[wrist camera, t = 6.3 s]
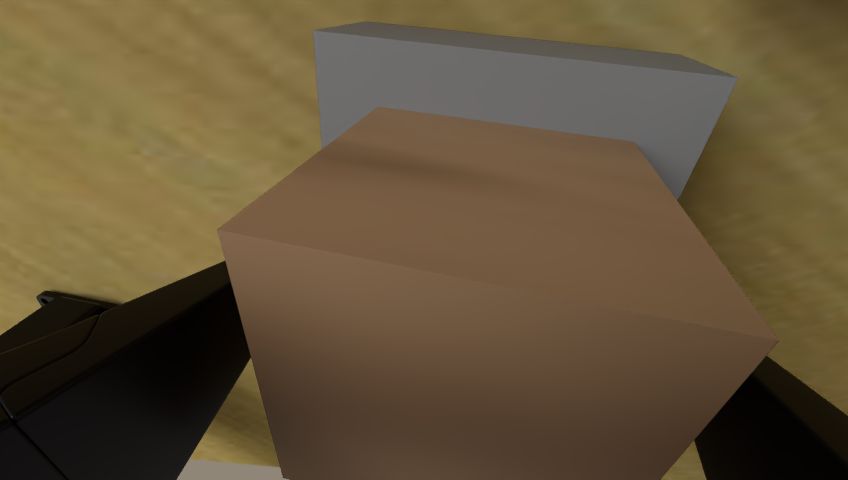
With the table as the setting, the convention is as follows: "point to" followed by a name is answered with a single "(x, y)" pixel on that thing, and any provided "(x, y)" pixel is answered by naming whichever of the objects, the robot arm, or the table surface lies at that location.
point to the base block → (523, 87)
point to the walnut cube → (484, 307)
